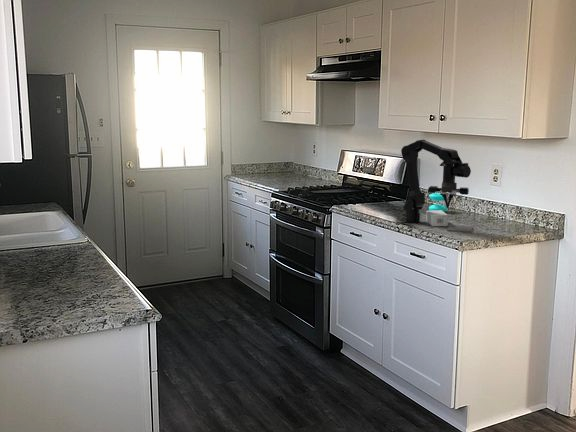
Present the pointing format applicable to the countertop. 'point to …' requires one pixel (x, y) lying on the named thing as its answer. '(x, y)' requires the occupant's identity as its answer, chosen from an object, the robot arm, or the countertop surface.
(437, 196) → the donuts
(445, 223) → the skincare box
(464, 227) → the mat
